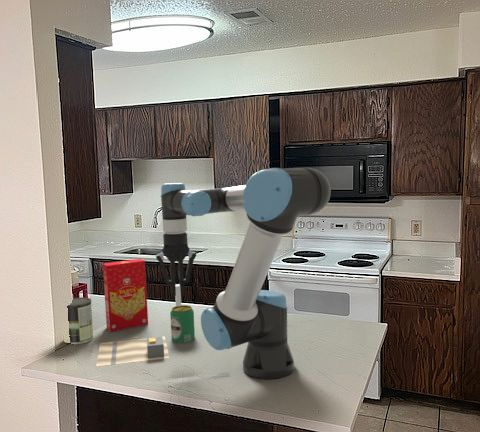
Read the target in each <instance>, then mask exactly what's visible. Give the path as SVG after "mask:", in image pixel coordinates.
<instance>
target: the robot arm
mask: <svg viewBox="0 0 480 432" xmlns="http://www.w3.org/2000/svg"><path fill="white" fill-rule="evenodd" d="M160 187H161V189H160V191H161V192H160V193H161V194H160V200H161V214H162V215H161V217H162V219H161V220H162V231H163V232H164V233H163V234H162V236H163V239H162V241H163V248H162V249H161V252H160V253H158V254H155V258H156V260H157V261H158V262H159V265H160V269H161V272H162V275H163V279H164V281H165V284H166V285H167V286H170V287H171V294H172V296H173V297H175V298H174V299H175V306H176V307H177V306H181V305H182V296H185V287H184V286H185V285H186V284H189V283H190V279H191V276H192V269H193V266H194V261H195V259H196V257H197V253H196V252H195V251H192V250H191V249H190V247H189V245H188V243H189V242H188V233H187V231H188V227H187V226H188V224H187V221H188V219H187V216H191V217H203V216H204V215H209V214H215V213H216V214H217V213H218V214H219V213H227V212H228V213H229V212H241V211H244V212H246V219H247V220H248V221H249V225H248V227H247V230H246V233H245V236H244V238H243V241H242V244H241V246H240V250H239V251H238V254H237V258H236V260H235V263H234V265H233V269H232V272H231V274H230V276H229V277H230V278H229V280H228V282H227V285H226V287H225V290H223V291H221V292H219V294H218V295H217V296H216V300H215V302H214V305H213V306H212V307H207V308H206V309H204V310H203V311H202V312H201V316H200V325H201V330H202V334H203V336H204V338H205V340H206V341H207V343H208V344H209V345H210V347H211V348H213V349H214V350H217V351H224V350H230V349H231V348H234V347H238V346H240V345H243V344H246V343H247V347H246V348H245V349H246V350H245V353H244V356H243V360H242V370H243V372H244V373H245V374H246V375H248V376H249V377H252V378H256V379H261V380H263V379H264V380H272V379H273V380H274V379H280V378H284V377H286V376H289V375H290V374H292V373H293V372H294V370H295V361H294V360H295V359H294V356H293V354H292V351H291V349H290V346H289V342H288V306H287V305H288V304H287V298H286V295H284V294H283V293H281V292H279V291H275V290H270V289H269V290H267V289H262V288H263V285H264V282H265V280H266V277H267V275H268V272H269V270H270V269H271V265H272V263H273V260H274V258H275V255H276V253H277V250H278V247H279V246H280V244H281V241H282V238H283V236H284V235H287V234H290V233H291V232H292V230H293V228H294V226H295V225H296V222H297V219H298V218H299V217H304V216H311V215H315V214H317V213H319V212H320V211H321V210H323V209H324V208H325V207H326V206H327V205H328V203H329V201H330V199H331V195H332V194H331V191H332V190H331V189H332V188H331V184H330V182H329V179H328V178H327V176H326V175H325V174H324V173H323V172H322V171H320V170H319V169H316V168H313V167H307V166H306V167H292V168H291V167H288V168H280V167H271V168H268V169H267V168H266V169H261V170H259V171H256V172H255V173H254V174H252V175H251V176H250V177H249V178H248V180H247V182H246V183H245V184H244V185H237V186H229V187H220V188H205V189H186V185H185V184H184V183H182V182H173V183H172V182H170V183H163V184H162V185H161V186H160ZM164 256H165V257H166V259H167V260H168V261H169V264H170V279H169V276H168V272H167V268H166V266H165V263H164V259H165V257H164ZM187 256H188V260H187V261H188V263H187V267H186V272H185V277H184V261H185V259H186V257H187ZM176 262H178V265H177V266H178V281H179V283H178V284H177V283H176V266H175V265H176Z"/></svg>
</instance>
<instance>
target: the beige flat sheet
mask: <svg viewBox="0 0 480 432" xmlns="http://www.w3.org/2000/svg"><path fill="white" fill-rule="evenodd" d="M161 337H162V338H163V344H164V357H156V358H148V352H147V338H148V337H147V338H146V337H145V338H139V339H138V338H136V339H129V340H120V341H118V340H117V341H110V342H109V341H107V342H100V343H99V348H98V353H97V360H96V365H95V366H96V368H97V367H105V366H112V365H113V366H114V365H121V364H130V363H138V362H147V361H155V360H164V359H170V354H169V349H168V344H167V340H166V336H161ZM154 338H156V337H155V336H154Z"/></svg>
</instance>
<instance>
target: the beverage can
mask: <svg viewBox="0 0 480 432" xmlns="http://www.w3.org/2000/svg"><path fill="white" fill-rule="evenodd" d="M170 333H171V341H172V342H173V343H177V344H179V343H181V344H183V343H184V344H185V343H190V342H192V341H194V340H195V339H196V337H195V335H196V334H195V333H196V332H195V312H194V309H193V307H192V306H191V305H187V304H183V305H182V304H181V306H177V307H176V305H175V306H173V307H172V308H171V311H170Z"/></svg>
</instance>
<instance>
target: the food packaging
mask: <svg viewBox="0 0 480 432" xmlns="http://www.w3.org/2000/svg"><path fill="white" fill-rule="evenodd" d="M102 272H103V273H102V274H103V289H104V305H105V319H106V320H105V321H106V329H107V330H108V331H109V332H116V331H120V330H121V331H122V330H126V329H131V328H135V327H140V326H144V325H145V326H146V325H148V324H149V314H148V313H149V312H148V296H147V295H148V294H147V276H146V274H147V273H146V272H147V271H146V260H144V259H142V258H138V259H129V260H121V261H115V262H114V261H112V262H105V263H102Z"/></svg>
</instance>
